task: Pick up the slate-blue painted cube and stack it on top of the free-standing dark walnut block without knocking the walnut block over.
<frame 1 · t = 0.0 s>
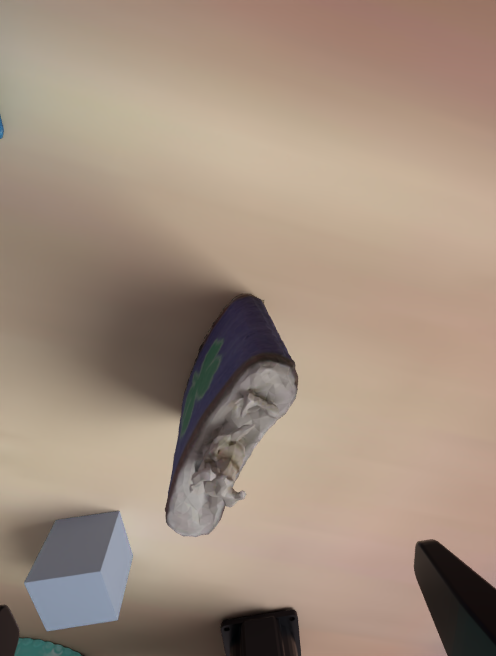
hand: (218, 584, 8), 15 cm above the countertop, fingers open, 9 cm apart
cube: (96, 537, 26), on the countertop
flask: (221, 357, 22), on the countertop
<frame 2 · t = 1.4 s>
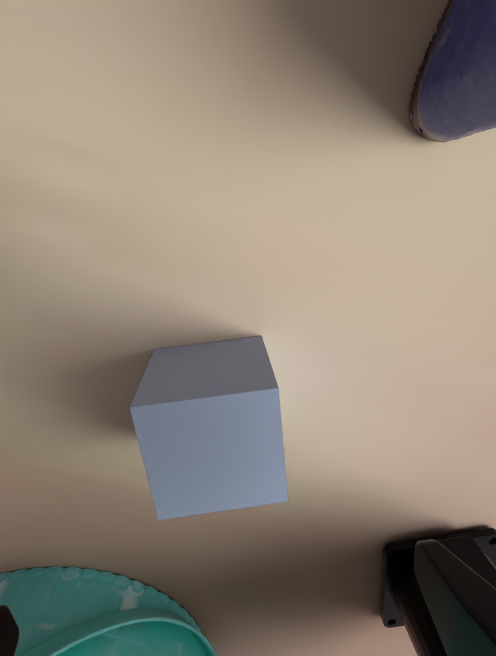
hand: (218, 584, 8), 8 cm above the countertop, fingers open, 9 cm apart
cube: (215, 388, 16), on the countertop
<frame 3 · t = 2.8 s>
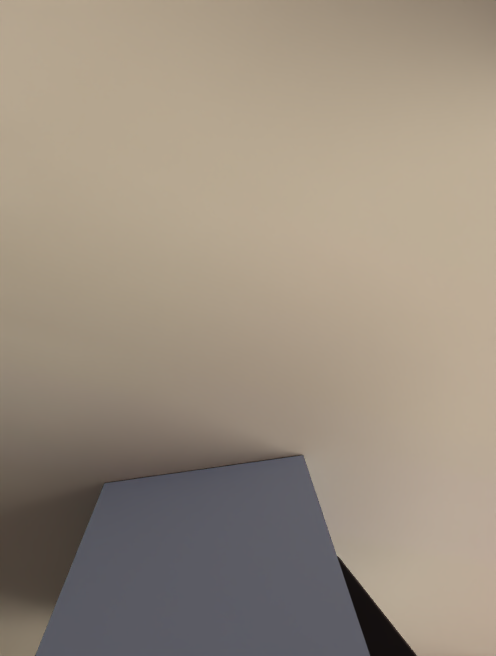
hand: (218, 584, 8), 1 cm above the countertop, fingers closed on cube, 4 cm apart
cube: (218, 541, 9), on the countertop, touching gripper
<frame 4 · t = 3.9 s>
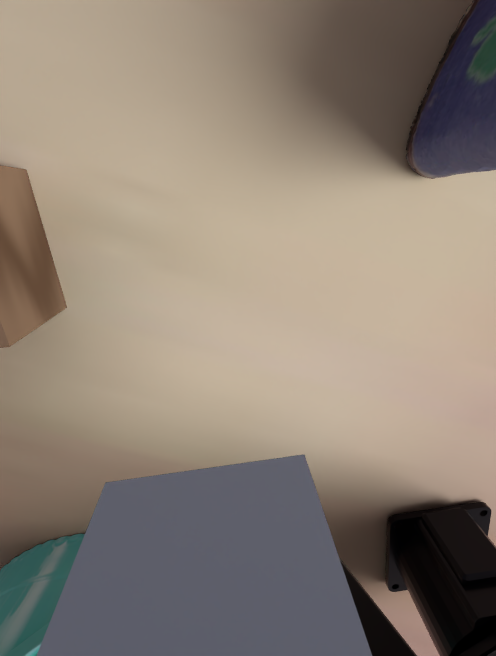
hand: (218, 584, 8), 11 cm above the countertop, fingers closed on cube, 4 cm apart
cube: (219, 540, 9), point 10 cm above the countertop, touching gripper
flask: (471, 67, 15), on the countertop
basket: (114, 618, 24), on the countertop
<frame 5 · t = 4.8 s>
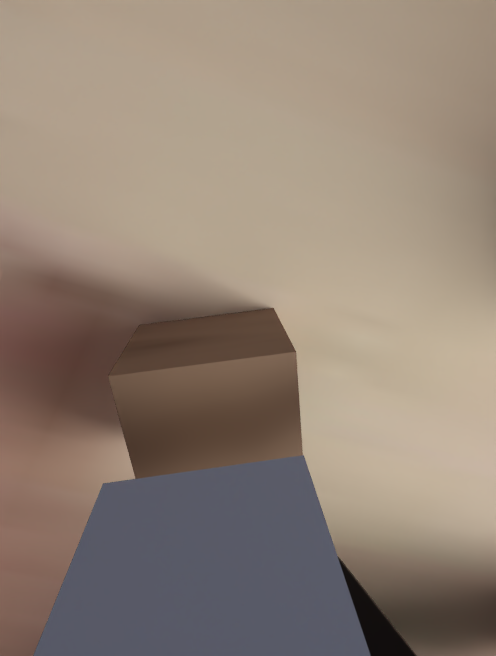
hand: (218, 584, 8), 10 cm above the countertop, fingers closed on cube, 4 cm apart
cube: (217, 542, 9), point 9 cm above the countertop, touching gripper
pedestal: (216, 374, 17), on the countertop
when the fingers open (7 cm above the countertop, at t = 5.5 s): cube drops 1 cm, resting on pedestal.
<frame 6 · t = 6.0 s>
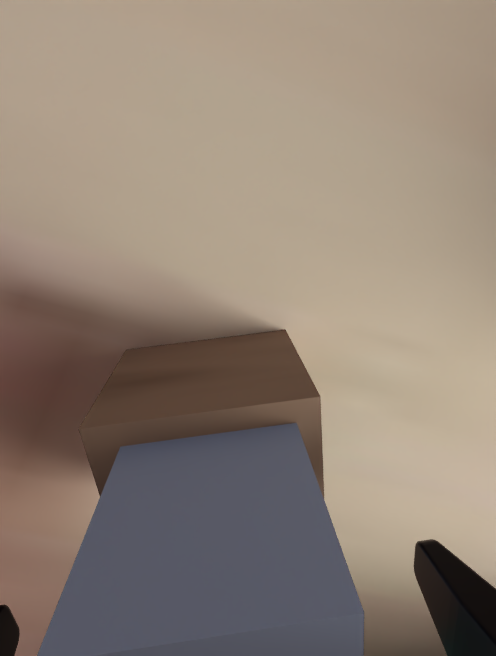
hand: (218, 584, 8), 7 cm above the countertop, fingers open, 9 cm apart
cube: (220, 502, 10), point 5 cm above the countertop, touching pedestal
pedestal: (217, 406, 15), on the countertop, touching cube
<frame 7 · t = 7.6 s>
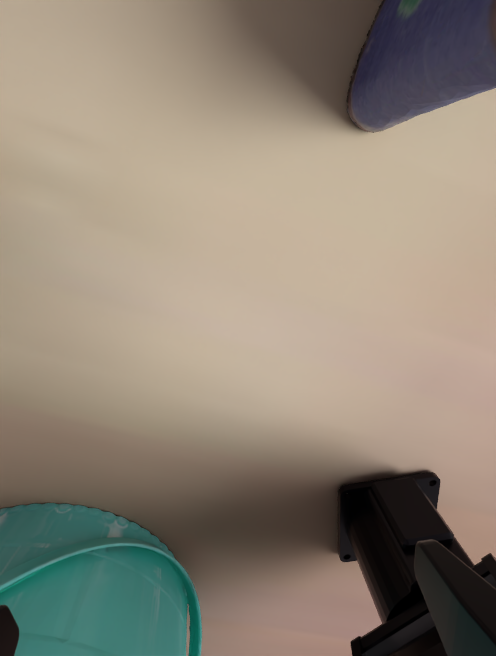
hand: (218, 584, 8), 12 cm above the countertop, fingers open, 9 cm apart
flask: (413, 14, 14), on the countertop
basket: (64, 591, 24), on the countertop
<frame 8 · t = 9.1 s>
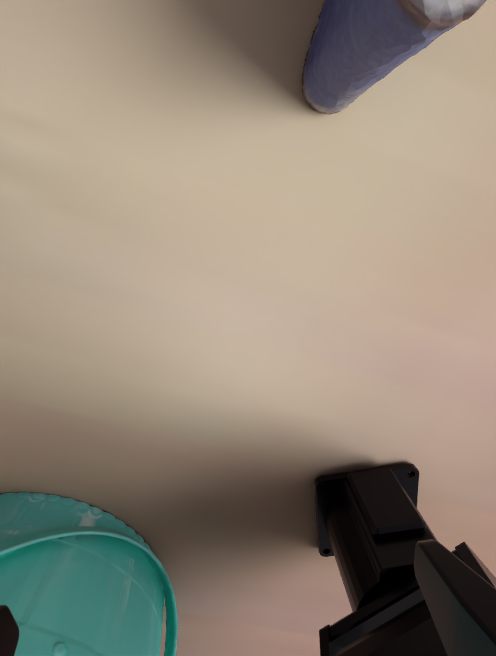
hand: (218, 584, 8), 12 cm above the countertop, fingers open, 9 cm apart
basket: (42, 584, 24), on the countertop
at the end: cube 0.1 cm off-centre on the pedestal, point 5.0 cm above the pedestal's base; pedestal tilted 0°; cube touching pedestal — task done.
